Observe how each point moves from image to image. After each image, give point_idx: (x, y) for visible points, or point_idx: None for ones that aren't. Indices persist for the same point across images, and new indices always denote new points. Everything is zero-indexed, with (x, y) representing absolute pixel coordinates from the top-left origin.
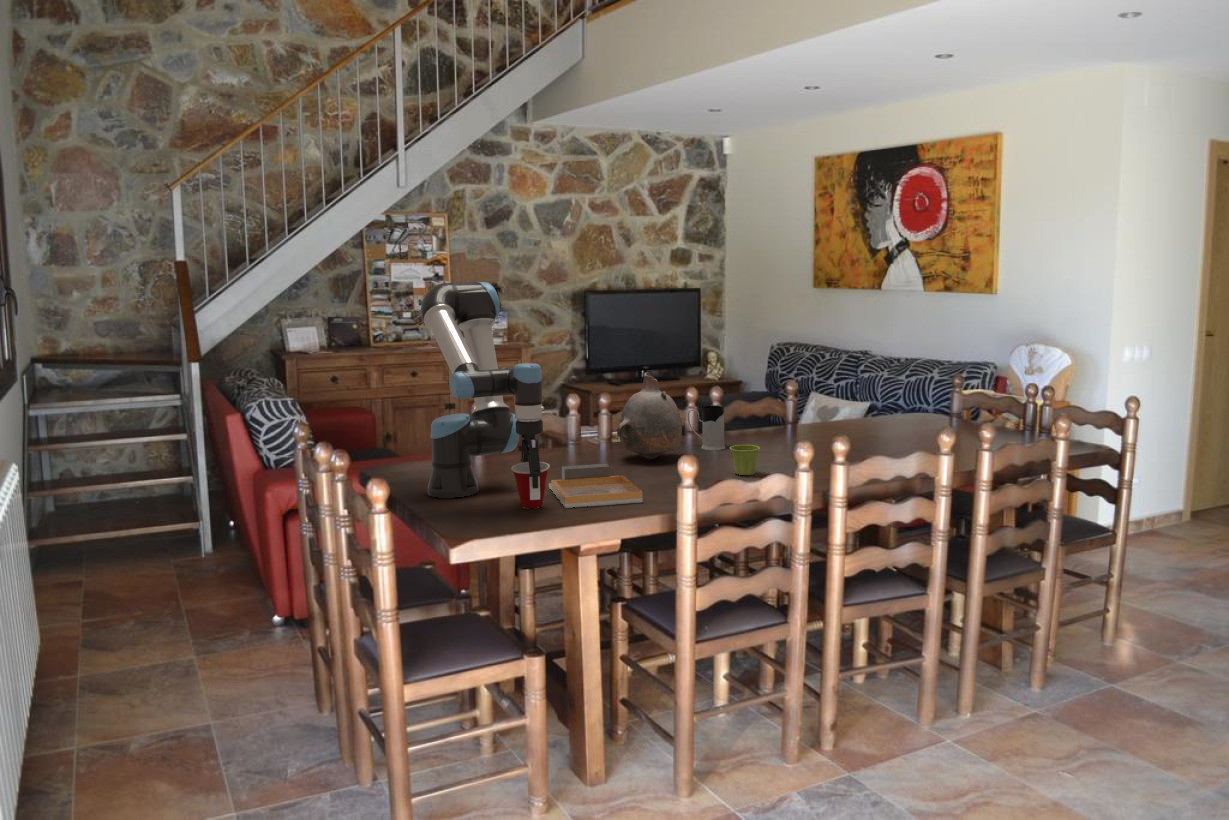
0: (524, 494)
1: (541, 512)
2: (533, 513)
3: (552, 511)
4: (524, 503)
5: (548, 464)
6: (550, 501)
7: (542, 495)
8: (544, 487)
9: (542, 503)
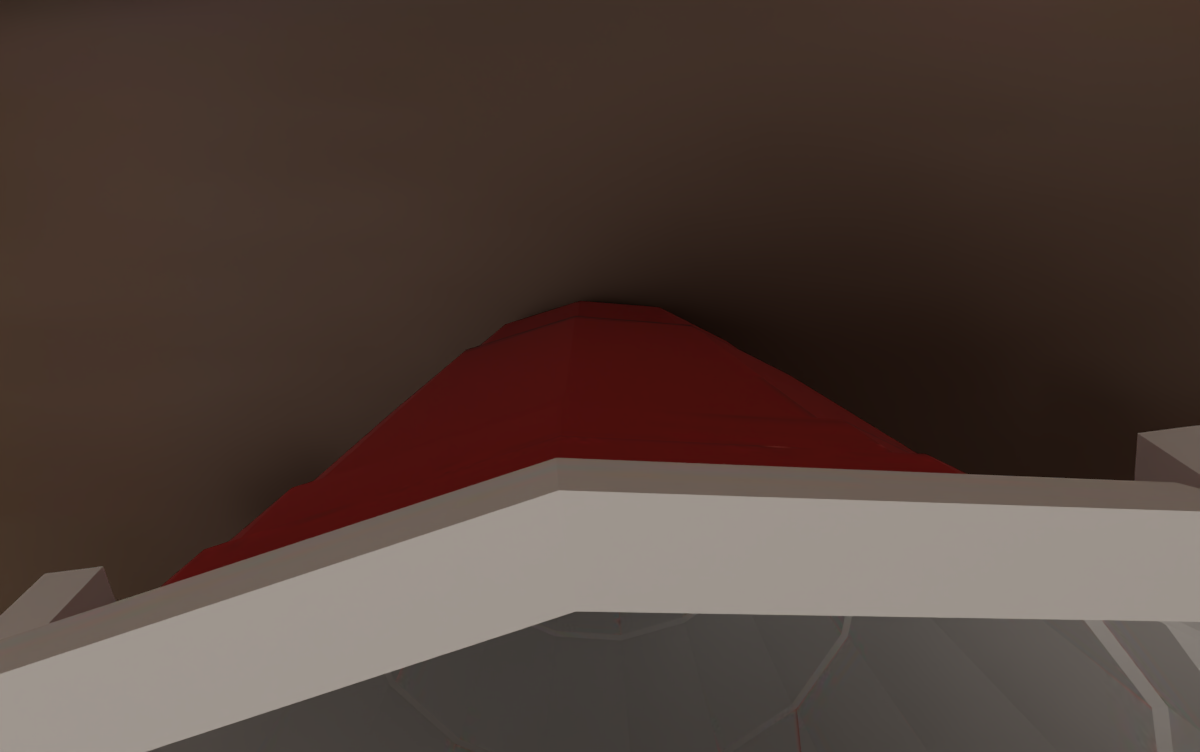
0: (848, 747)
1: (1017, 320)
2: (1040, 447)
3: (1008, 123)
4: (755, 628)
5: (292, 610)
6: (223, 129)
7: (759, 361)
8: (756, 368)
9: (662, 310)
